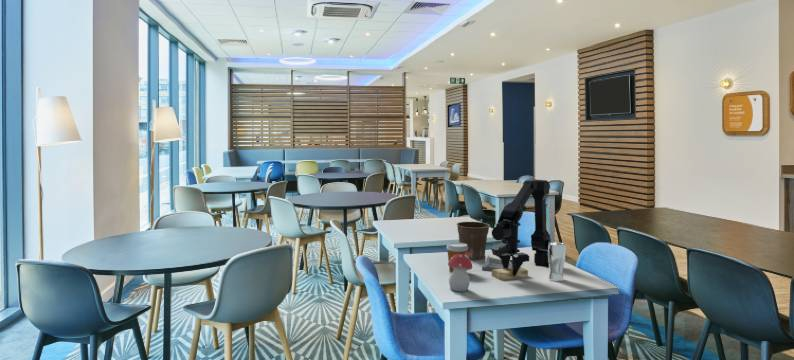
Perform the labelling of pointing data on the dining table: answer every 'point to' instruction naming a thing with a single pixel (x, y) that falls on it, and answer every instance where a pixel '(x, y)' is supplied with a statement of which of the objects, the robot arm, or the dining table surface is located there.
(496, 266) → the peg stand
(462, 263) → the decorative ornament
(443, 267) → the dining table surface
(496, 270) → the oak plank
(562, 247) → the beer glass
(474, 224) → the plant pot
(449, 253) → the lidded amber jar
